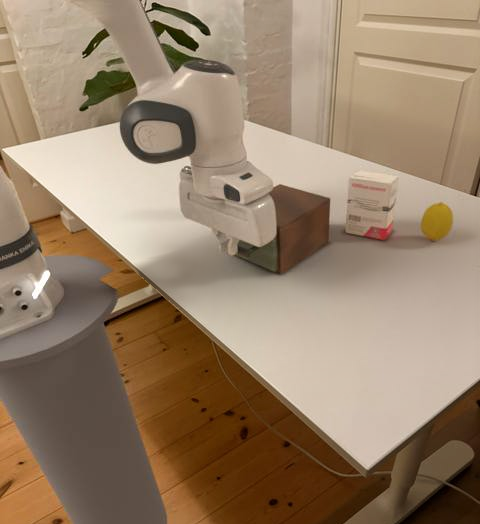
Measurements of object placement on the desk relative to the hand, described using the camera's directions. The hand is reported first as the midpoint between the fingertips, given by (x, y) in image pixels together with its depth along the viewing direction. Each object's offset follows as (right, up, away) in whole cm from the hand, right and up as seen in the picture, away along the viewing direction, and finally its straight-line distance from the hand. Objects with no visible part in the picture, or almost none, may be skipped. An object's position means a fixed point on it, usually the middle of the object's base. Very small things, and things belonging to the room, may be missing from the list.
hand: (228, 252), depth 82 cm
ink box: (+29, +6, +14) cm, 32 cm away
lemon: (+40, +3, +9) cm, 41 cm away
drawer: (+7, +1, +8) cm, 11 cm away
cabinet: (+10, +2, +11) cm, 15 cm away
